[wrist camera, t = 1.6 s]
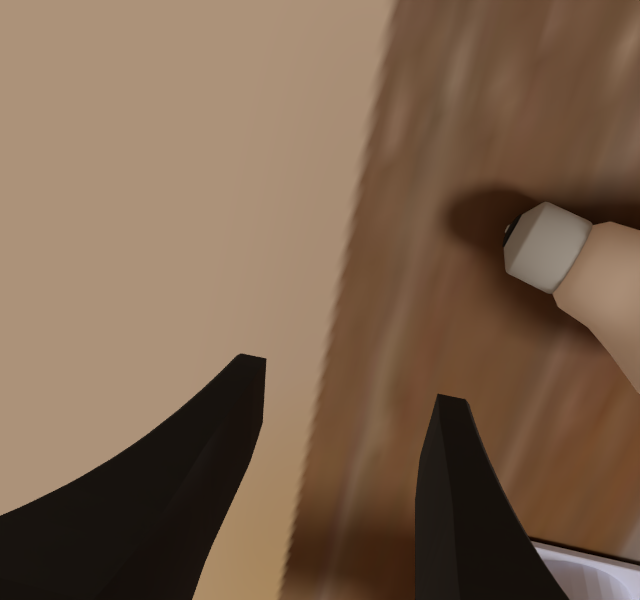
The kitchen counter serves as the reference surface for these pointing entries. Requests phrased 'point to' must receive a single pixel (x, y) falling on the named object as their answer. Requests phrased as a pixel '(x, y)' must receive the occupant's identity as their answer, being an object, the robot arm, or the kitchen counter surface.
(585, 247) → the light bulb
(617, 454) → the kitchen counter surface
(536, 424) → the kitchen counter surface
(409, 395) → the kitchen counter surface
